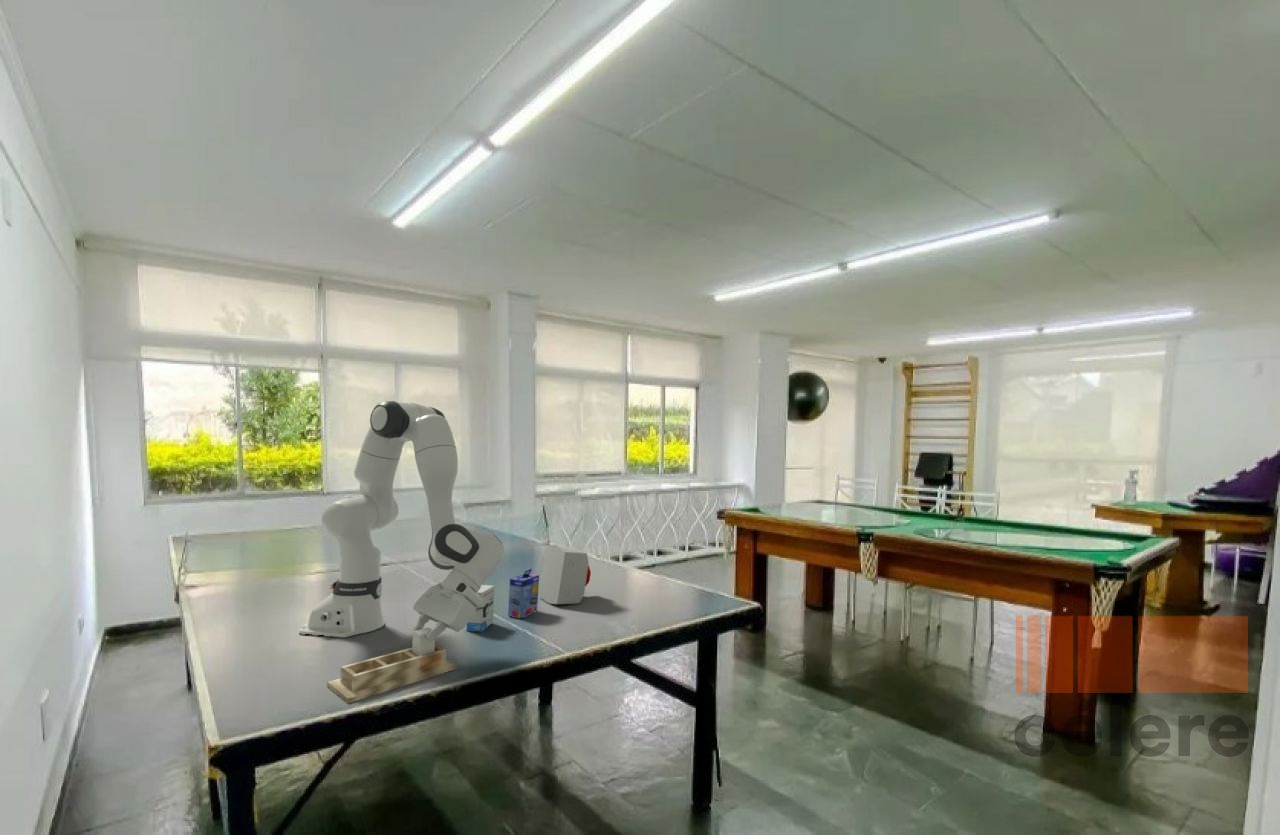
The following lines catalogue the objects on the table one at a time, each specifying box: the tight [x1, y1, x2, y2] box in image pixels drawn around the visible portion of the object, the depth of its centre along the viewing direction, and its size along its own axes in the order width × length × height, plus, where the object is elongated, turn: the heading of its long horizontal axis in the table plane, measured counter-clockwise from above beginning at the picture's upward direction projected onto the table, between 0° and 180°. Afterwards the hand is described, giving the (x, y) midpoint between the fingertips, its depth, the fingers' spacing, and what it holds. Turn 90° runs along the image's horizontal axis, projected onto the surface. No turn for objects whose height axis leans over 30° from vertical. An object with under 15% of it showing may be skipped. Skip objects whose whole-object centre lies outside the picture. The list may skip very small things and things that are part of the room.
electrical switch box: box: [538, 544, 591, 605], centre depth 206 cm, size 15×15×20 cm
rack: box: [326, 644, 458, 704], centre depth 137 cm, size 26×12×4 cm, turn 138°
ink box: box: [466, 584, 495, 632], centre depth 174 cm, size 8×5×12 cm, turn 168°
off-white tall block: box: [411, 627, 436, 657], centre depth 143 cm, size 4×4×8 cm
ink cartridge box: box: [507, 568, 540, 619], centre depth 188 cm, size 10×6×14 cm, turn 158°
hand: (421, 636), depth 142 cm, fingers open, 5 cm apart
